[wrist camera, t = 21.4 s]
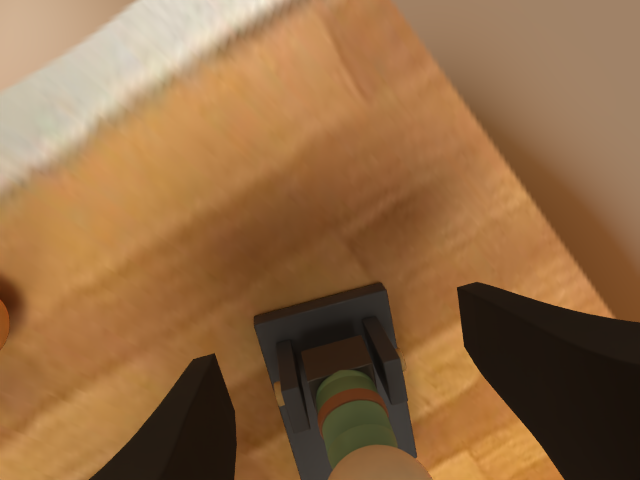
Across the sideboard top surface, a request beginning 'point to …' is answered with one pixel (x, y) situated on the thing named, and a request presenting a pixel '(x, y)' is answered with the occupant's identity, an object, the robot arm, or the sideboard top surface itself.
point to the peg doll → (355, 415)
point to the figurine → (3, 324)
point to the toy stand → (320, 329)
